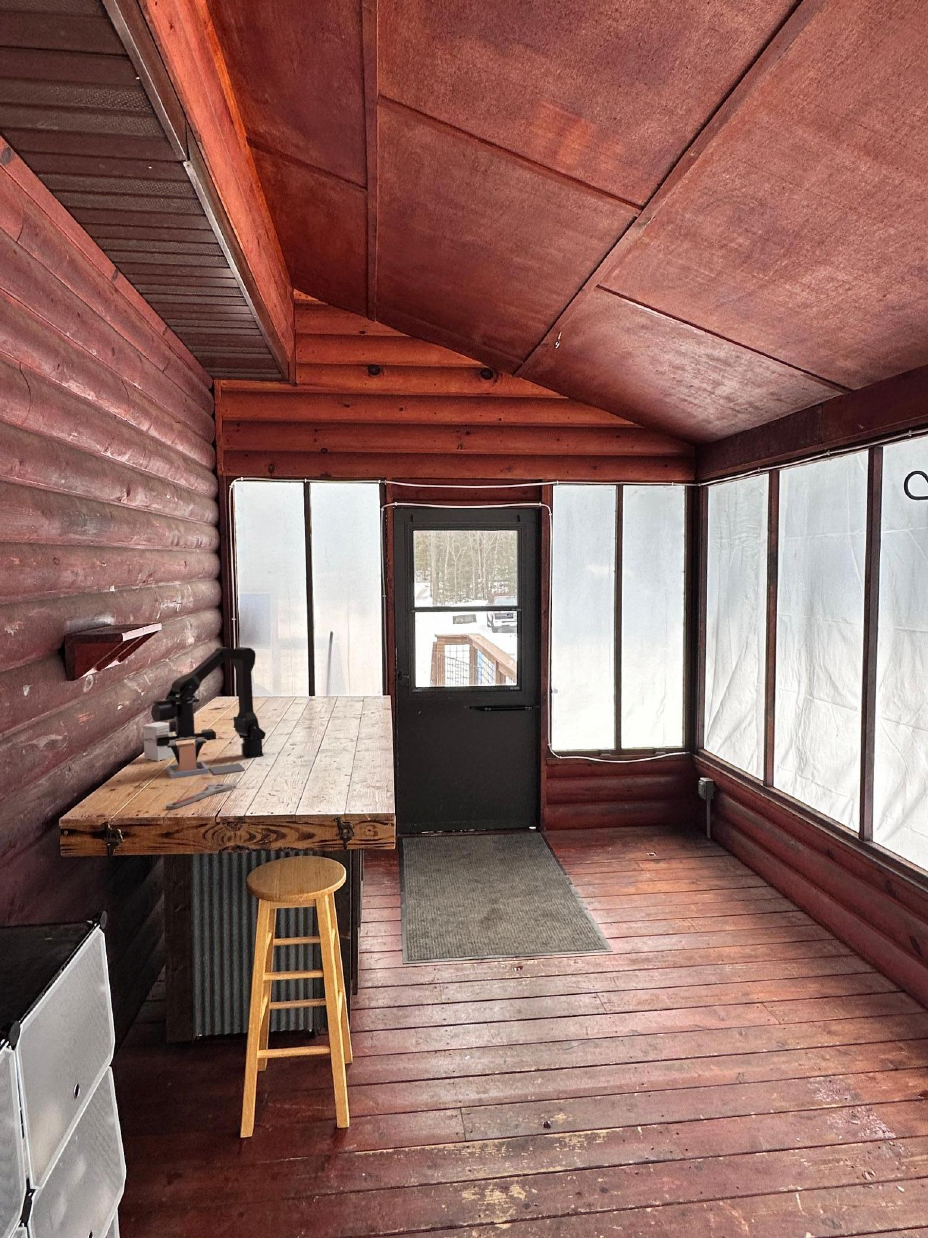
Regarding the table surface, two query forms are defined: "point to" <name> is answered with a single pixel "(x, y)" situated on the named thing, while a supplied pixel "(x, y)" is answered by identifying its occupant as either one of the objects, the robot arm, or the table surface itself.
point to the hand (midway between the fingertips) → (187, 762)
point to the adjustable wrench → (204, 793)
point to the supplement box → (149, 741)
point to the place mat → (226, 769)
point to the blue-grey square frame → (187, 773)
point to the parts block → (186, 757)
